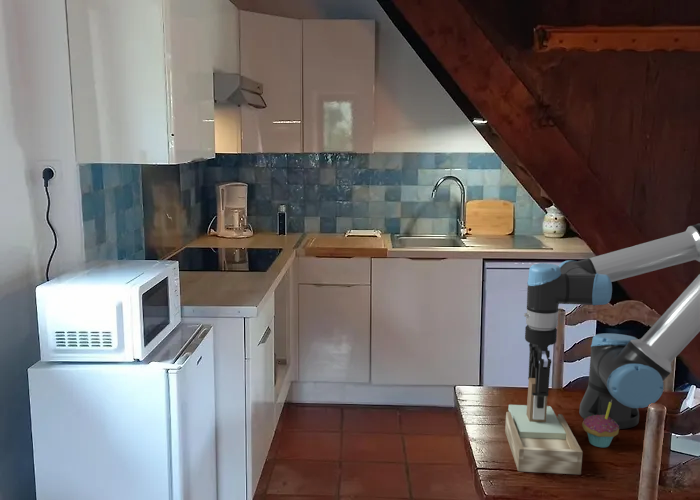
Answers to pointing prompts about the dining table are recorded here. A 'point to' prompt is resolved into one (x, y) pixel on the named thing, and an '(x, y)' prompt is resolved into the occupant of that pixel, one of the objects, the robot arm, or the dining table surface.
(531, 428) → the cover plate
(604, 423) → the cupcake
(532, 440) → the birch box
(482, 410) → the dining table surface
